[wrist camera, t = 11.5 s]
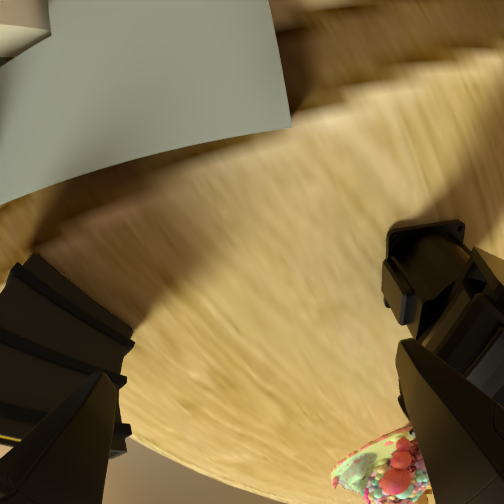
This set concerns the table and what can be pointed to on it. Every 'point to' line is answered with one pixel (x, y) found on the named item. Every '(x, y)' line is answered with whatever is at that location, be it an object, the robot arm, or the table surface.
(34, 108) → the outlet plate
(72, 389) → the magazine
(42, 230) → the table surface
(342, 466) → the candy landscape model
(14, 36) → the block
